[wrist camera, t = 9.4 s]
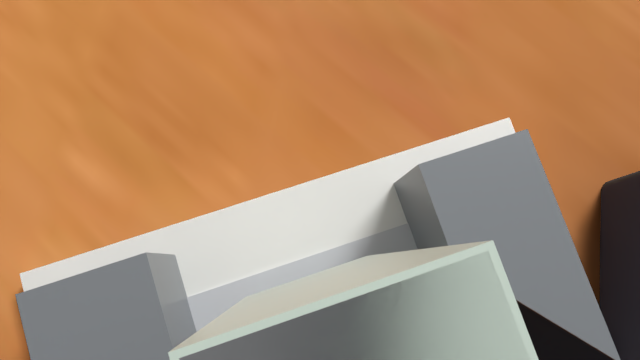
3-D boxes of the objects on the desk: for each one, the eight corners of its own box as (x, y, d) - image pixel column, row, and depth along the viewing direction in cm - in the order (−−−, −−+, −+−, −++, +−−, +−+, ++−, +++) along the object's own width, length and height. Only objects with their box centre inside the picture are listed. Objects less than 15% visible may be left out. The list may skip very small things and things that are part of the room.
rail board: (498, 124, 20) (559, 84, 15) (598, 378, 18) (698, 415, 14) (35, 273, 18) (-52, 276, 13) (107, 570, 16) (39, 685, 12)
